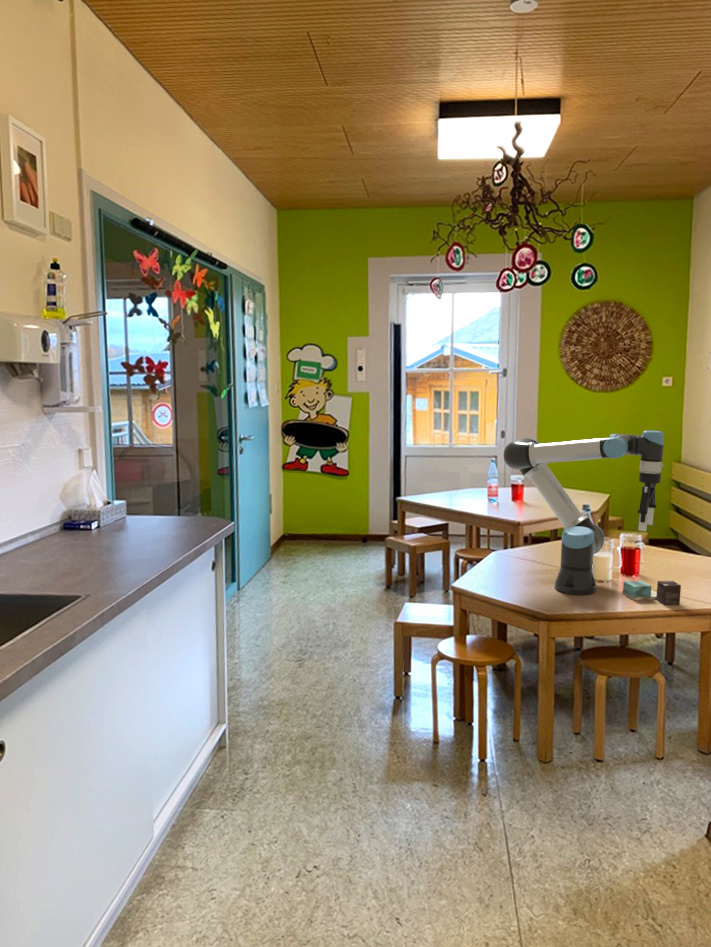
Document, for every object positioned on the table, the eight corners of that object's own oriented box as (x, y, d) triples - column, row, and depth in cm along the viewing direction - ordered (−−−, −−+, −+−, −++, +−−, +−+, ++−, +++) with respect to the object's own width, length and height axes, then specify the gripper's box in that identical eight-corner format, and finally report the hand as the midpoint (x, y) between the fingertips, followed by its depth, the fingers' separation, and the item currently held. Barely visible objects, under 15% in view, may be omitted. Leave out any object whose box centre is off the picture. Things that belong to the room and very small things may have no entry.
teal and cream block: (633, 600, 260) (634, 587, 260) (622, 593, 268) (622, 580, 267) (663, 598, 262) (664, 585, 262) (651, 592, 270) (652, 579, 269)
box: (672, 600, 261) (673, 580, 260) (680, 605, 255) (681, 585, 254) (655, 600, 261) (657, 580, 260) (663, 605, 255) (664, 585, 254)
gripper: (655, 476, 254) (650, 534, 257) (666, 469, 275) (661, 523, 278) (633, 474, 258) (628, 532, 261) (645, 467, 279) (641, 520, 282)
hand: (645, 527), depth 270 cm, fingers open, 13 cm apart
